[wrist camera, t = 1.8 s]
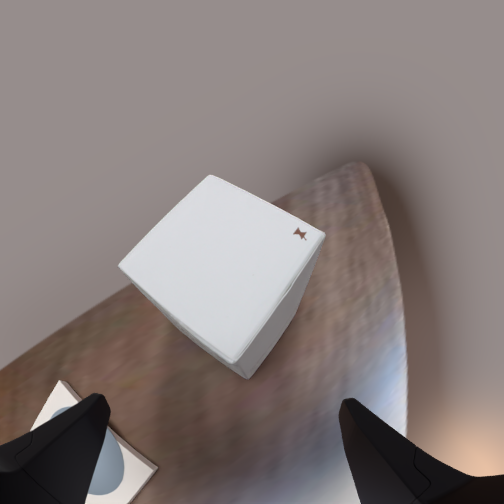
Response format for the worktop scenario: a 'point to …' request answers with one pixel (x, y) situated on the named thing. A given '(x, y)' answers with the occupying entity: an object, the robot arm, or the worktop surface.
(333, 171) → the worktop surface
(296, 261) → the supplement box
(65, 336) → the worktop surface
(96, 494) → the white board
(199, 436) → the worktop surface
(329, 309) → the worktop surface
